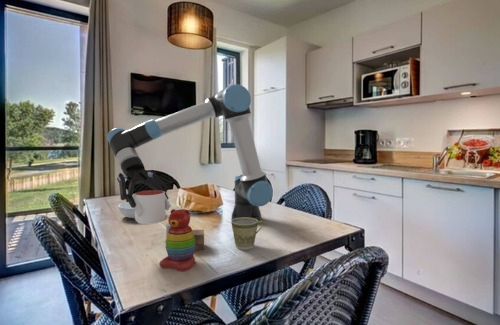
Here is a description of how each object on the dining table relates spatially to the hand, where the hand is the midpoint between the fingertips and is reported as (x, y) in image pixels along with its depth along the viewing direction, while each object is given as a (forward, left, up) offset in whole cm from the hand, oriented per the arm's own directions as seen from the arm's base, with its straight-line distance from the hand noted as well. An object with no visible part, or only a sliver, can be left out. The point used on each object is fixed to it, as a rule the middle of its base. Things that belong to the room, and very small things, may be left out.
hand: (155, 211), depth 100 cm
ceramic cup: (-29, -15, -16) cm, 37 cm away
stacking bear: (-10, +4, -16) cm, 20 cm away
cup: (+3, -1, -4) cm, 5 cm away
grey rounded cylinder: (+1, -15, -16) cm, 22 cm away
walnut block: (-10, -10, -16) cm, 22 cm away
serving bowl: (+35, -47, -16) cm, 61 cm away
